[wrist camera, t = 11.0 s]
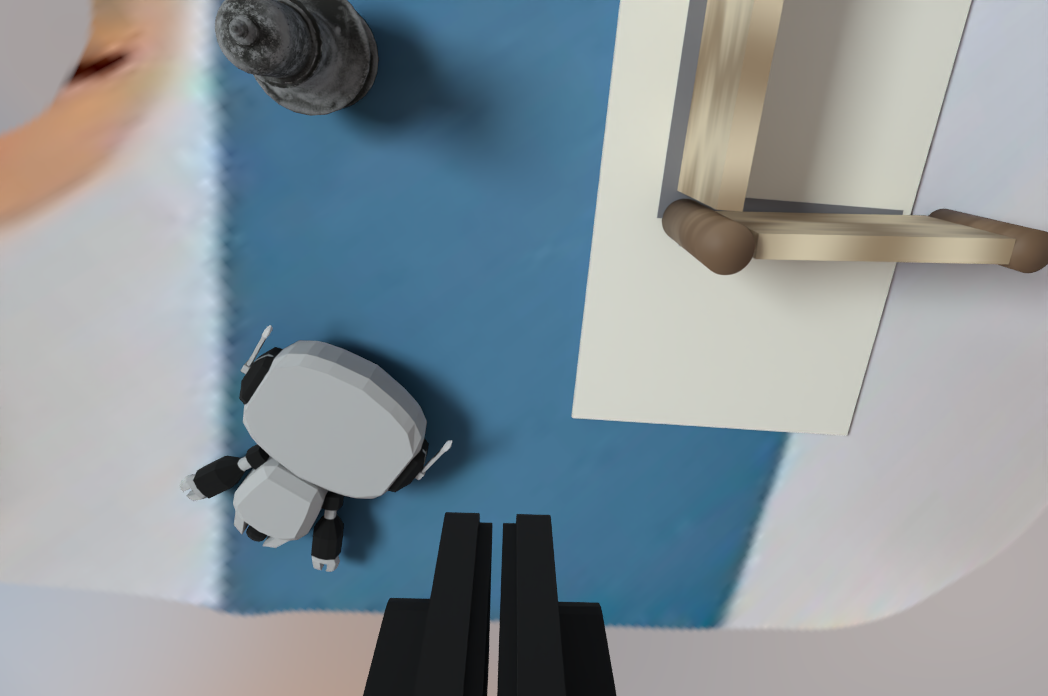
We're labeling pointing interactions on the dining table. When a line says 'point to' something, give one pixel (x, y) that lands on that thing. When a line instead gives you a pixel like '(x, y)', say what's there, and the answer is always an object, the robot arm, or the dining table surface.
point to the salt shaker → (301, 50)
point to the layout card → (774, 186)
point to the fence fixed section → (724, 132)
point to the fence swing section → (895, 238)
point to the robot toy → (316, 444)
